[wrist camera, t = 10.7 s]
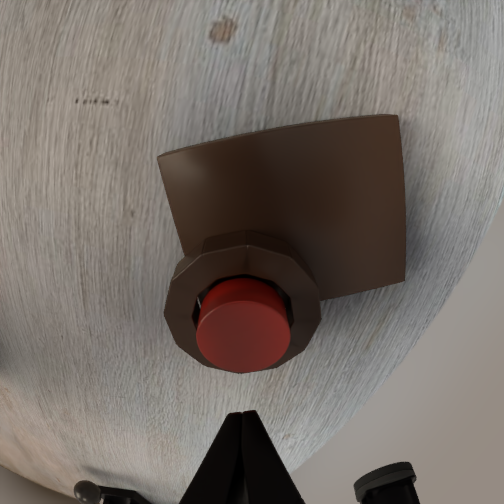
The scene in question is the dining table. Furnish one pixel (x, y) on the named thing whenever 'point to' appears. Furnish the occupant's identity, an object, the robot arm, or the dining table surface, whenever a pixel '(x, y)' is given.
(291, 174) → the button block
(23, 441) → the dining table surface
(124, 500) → the switch bracket
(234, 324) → the button
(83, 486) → the switch lever
